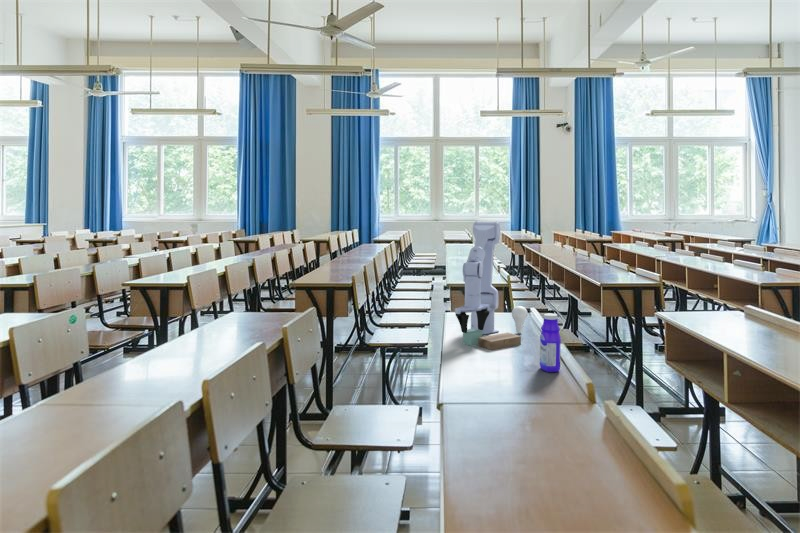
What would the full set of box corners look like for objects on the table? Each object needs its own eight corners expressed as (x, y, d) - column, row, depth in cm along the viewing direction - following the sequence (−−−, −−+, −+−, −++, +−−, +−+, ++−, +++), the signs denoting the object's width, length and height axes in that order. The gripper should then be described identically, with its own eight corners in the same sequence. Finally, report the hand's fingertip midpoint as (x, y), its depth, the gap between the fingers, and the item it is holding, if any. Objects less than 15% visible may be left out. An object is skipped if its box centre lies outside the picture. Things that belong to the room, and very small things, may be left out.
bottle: (536, 366, 174) (537, 312, 172) (554, 365, 175) (555, 311, 173) (544, 373, 167) (545, 317, 165) (563, 372, 168) (564, 316, 166)
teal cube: (462, 343, 204) (462, 330, 204) (473, 341, 207) (473, 328, 206) (471, 346, 200) (471, 332, 199) (482, 344, 202) (482, 331, 202)
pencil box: (478, 345, 200) (478, 337, 200) (507, 340, 207) (507, 332, 207) (491, 350, 194) (491, 341, 194) (521, 344, 201) (521, 336, 201)
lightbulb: (526, 331, 220) (526, 304, 219) (528, 335, 214) (528, 307, 213) (510, 331, 221) (511, 304, 220) (512, 335, 215) (512, 307, 214)
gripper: (463, 297, 194) (463, 335, 195) (495, 294, 201) (494, 330, 203) (451, 295, 200) (451, 332, 202) (482, 291, 207) (482, 327, 209)
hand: (472, 331), depth 203 cm, fingers open, 7 cm apart
